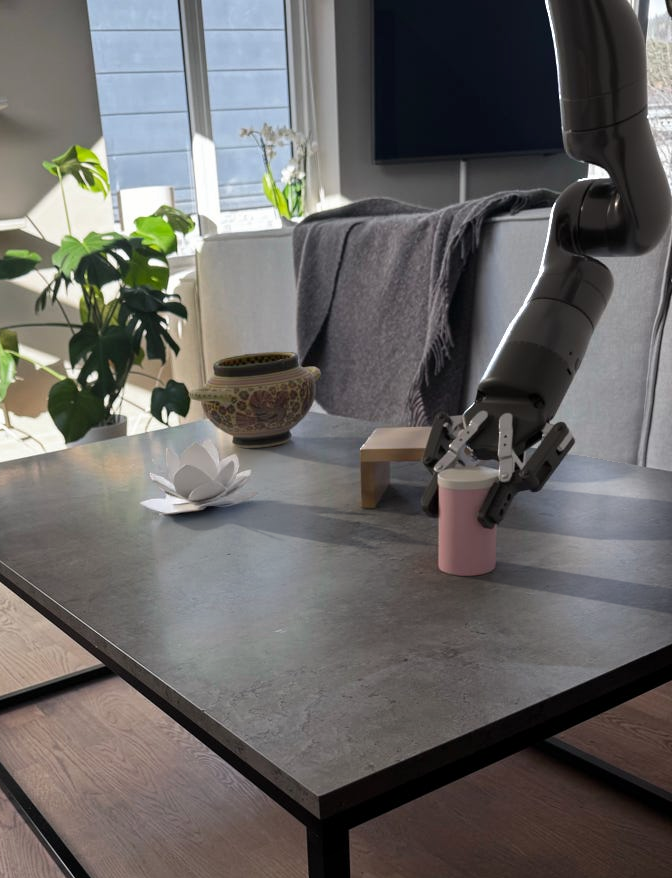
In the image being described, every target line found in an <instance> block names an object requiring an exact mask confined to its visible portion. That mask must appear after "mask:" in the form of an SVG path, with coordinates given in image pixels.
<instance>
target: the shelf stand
mask: <svg viewBox="0 0 672 878" xmlns="http://www.w3.org/2000/svg"><path fill="white" fill-rule="evenodd" d="M431 429H432V426H407V427H406V426H404V427H403V426H402V427H400V426H399V427H377V428H375V429H374V431H373V432H372V433H371V435H370V436H369V437H368V439H367V440H366V441H365V443H364V444H363V445H362V446H361V447H360V448H359V461H360V493H361V495H360V499H361V501H360V502H361V503H360V504H361V509H376V508H377V505H378V504H379V502H380V500H381V499H382V497H383V496H384V494H385V492H386V490H387V489H388V487H389V486H390V484H391V462H422V457H423V454H424V451H425V447H426V444H427V441H428V438H429V435H430V432H431ZM463 431H464V430H463V429H462V430H461V431H460V432H459V433H458V435H457V436H459V435H460V434H461V433H462V432H463ZM453 441H454V440H453ZM465 452H466V453H467V455H469V454H470V453H471V451H470V450H469V448H468V447H467V446H466V448H465ZM457 461H458V460H457ZM457 461H456V462H457ZM485 462H486V460H481V461H480V462H479V463H478V464H477V465H476V466H482V467H486V466H485V465H486V464H485Z"/></svg>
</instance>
